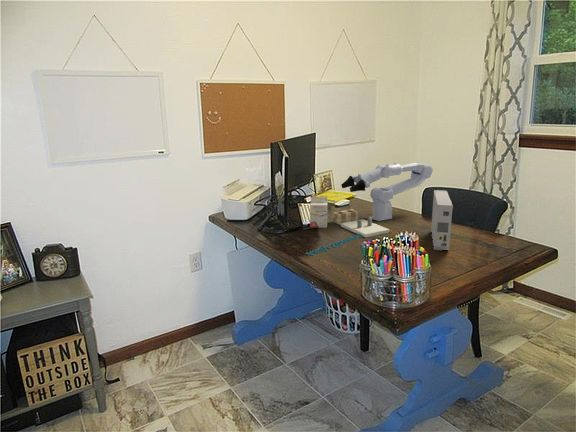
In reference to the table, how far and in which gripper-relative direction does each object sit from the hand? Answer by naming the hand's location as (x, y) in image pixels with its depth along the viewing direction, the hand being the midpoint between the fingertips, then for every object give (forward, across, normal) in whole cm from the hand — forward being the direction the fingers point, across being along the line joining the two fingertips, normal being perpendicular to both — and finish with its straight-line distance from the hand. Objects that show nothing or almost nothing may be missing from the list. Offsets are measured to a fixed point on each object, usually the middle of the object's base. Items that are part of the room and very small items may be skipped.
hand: (346, 188), depth 207 cm
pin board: (+2, +13, +18) cm, 22 cm away
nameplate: (+24, +25, +11) cm, 36 cm away
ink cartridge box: (+18, -2, +14) cm, 23 cm away
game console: (-16, +43, +21) cm, 51 cm away
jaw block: (+3, -3, +18) cm, 19 cm away
